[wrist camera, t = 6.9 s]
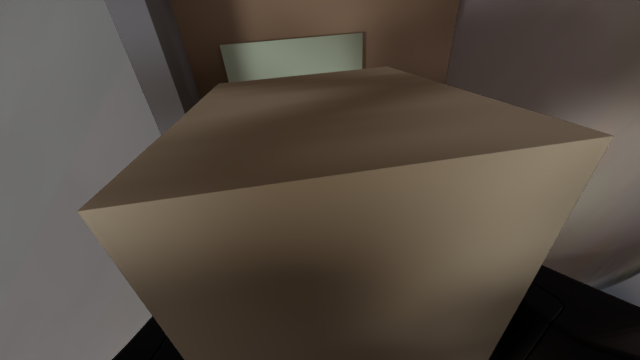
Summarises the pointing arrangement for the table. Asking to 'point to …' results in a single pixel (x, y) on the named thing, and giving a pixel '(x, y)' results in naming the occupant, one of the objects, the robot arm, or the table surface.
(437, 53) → the tray
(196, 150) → the maple block
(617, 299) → the robot arm
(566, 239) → the table surface
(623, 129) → the table surface
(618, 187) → the table surface
